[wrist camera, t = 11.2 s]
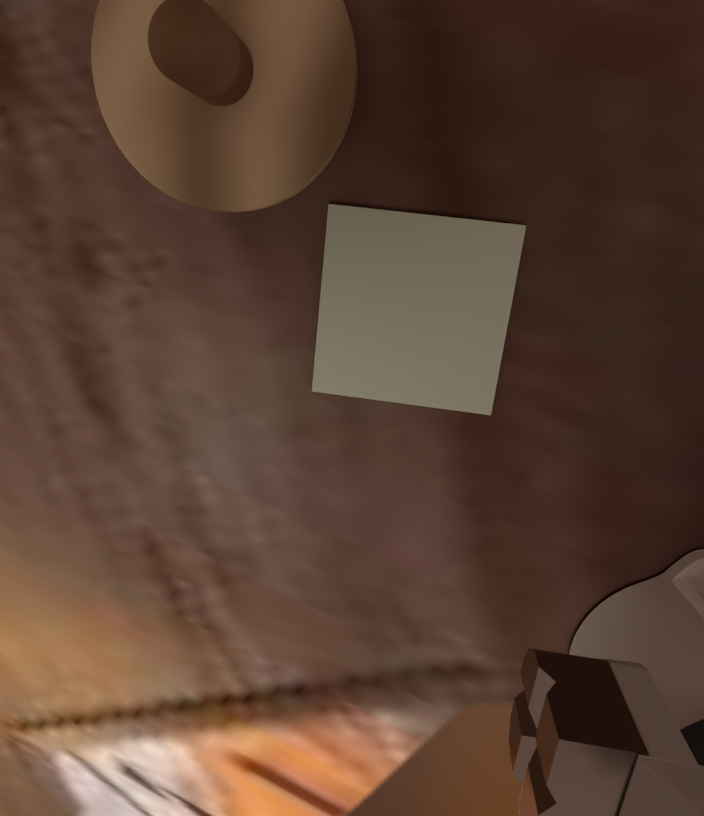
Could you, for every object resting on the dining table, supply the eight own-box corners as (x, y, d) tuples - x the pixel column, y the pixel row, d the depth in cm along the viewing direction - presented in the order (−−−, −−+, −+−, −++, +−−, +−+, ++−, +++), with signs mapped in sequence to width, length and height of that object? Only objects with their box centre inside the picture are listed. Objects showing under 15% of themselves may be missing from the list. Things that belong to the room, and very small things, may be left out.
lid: (372, -69, 25) (360, -145, 20) (343, 225, 28) (327, 224, 23) (102, -90, 26) (26, -167, 21) (107, 198, 29) (43, 191, 24)
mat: (524, 225, 35) (526, 225, 35) (489, 412, 39) (490, 415, 38) (329, 204, 36) (328, 203, 36) (313, 389, 40) (311, 391, 39)
